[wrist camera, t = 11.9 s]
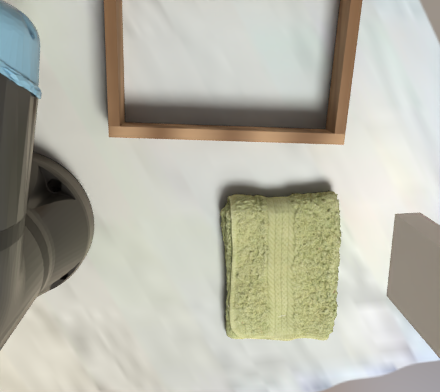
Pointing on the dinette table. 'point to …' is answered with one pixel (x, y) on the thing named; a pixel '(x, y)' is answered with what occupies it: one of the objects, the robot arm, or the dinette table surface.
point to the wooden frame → (329, 135)
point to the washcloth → (281, 265)
